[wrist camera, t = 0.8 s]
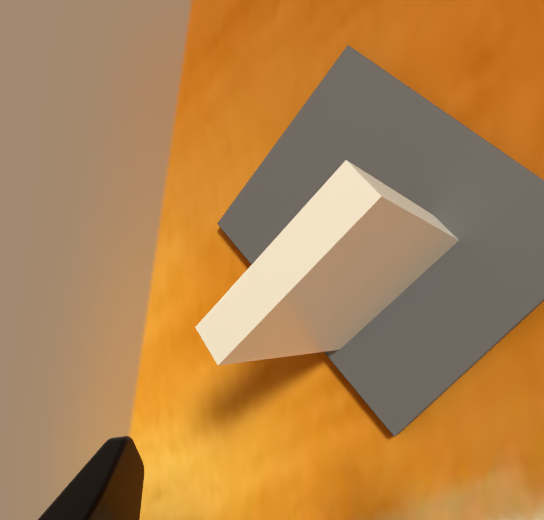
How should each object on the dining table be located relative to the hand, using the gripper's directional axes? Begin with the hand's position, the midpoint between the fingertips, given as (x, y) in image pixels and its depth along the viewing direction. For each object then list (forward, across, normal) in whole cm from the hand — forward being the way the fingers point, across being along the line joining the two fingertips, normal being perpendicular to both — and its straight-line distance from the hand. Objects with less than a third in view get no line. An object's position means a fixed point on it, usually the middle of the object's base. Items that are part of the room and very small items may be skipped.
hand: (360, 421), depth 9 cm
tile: (+12, -3, +5) cm, 14 cm away
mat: (+14, -3, +3) cm, 15 cm away
